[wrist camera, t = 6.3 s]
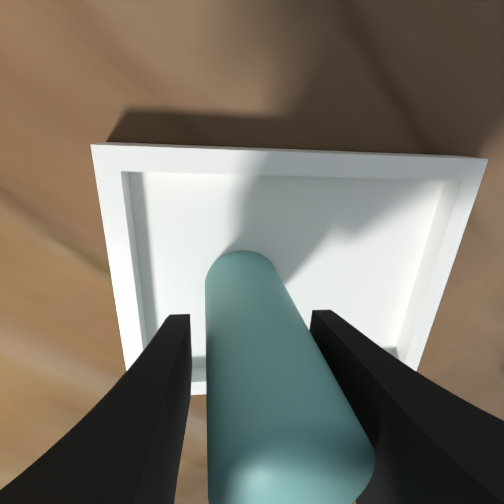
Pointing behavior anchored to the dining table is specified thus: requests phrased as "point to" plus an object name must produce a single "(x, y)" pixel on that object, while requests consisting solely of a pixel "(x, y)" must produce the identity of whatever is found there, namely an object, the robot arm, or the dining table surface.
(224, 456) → the teal dowel
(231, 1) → the dining table surface
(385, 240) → the tray
